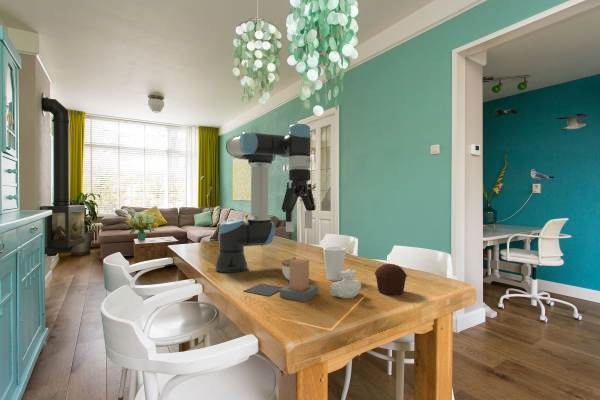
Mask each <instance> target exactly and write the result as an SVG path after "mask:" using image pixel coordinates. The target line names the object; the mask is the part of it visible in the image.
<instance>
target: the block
mask: <svg viewBox="0 0 600 400" xmlns="http://www.w3.org/2000/svg"><path fill="white" fill-rule="evenodd" d="M289 285H290V289H291V290H297V291H305V290H306V289H308V288H309V285H310V260H309V259H307V260H306V259H302V258H300V259H299V258H296V259H295V260H292V261H290V280H289Z"/></svg>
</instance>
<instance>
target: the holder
mask: <svg viewBox="0 0 600 400" xmlns="http://www.w3.org/2000/svg"><path fill="white" fill-rule="evenodd" d="M283 287H284V288H282V289H280V291H279V297H280V298H283V299H289V300H295V301H298V302H299V301H300V302H305V303H307V301H309V300H310V299H312V298H313V297H315V296H317V294H319V286H318V285H312V284H309V288H308V289H306V290H305V291H297V290H291V289H290V284H287V285H286V286H283Z"/></svg>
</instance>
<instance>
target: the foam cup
mask: <svg viewBox="0 0 600 400" xmlns="http://www.w3.org/2000/svg"><path fill="white" fill-rule="evenodd" d="M322 254H323V258H324V265H325V274H326V280H328V281H333V282H338V281H342V280H343V275H342V274H341V273H340V271H344V266H345V265H344V263H345V256H346V248H345V247H343V246H342V247H341V246H325V247H323V253H322Z"/></svg>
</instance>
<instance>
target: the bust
mask: <svg viewBox="0 0 600 400" xmlns="http://www.w3.org/2000/svg"><path fill="white" fill-rule="evenodd" d="M356 271H357V270H356V269H353V270H352V269H351V268H346V269H345V270H343V271H340V273H341V274H342V279H341V280H338V281H333V282H332V283H331V284H330V286H329V292H330V296H332V297H338V298H342V299H354V298H355V297H357V295H358V294H359V292H360V289H362V282H361V281H360V280H357V279H355V277H356V273H357V272H356Z"/></svg>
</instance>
